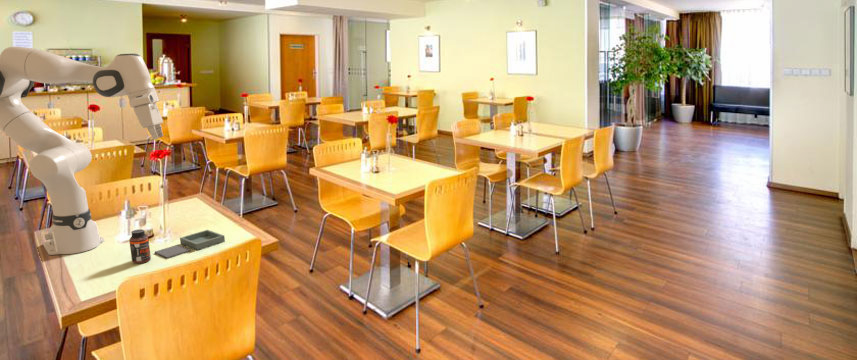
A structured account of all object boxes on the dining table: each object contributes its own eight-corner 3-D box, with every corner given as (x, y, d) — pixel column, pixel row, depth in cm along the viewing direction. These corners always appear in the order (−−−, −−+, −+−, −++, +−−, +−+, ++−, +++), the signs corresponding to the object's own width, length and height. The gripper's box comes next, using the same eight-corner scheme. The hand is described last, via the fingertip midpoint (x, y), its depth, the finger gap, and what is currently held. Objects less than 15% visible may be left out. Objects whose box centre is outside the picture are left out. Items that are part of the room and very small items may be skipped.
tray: (180, 243, 205) (179, 237, 204) (208, 235, 214) (207, 229, 213) (197, 250, 198) (196, 244, 197) (224, 241, 207) (224, 235, 207)
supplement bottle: (143, 264, 185) (138, 234, 182) (128, 263, 186) (123, 233, 183) (154, 258, 191) (150, 228, 188) (140, 257, 192) (136, 227, 189)
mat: (154, 253, 196) (154, 251, 195) (178, 245, 203) (178, 244, 202) (167, 258, 190) (167, 257, 190) (191, 251, 197) (191, 249, 197)
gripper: (140, 101, 192) (154, 138, 195) (127, 102, 173) (143, 142, 176) (159, 97, 194) (172, 133, 197) (148, 97, 174) (162, 137, 178)
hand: (158, 138), depth 186 cm, fingers open, 8 cm apart
